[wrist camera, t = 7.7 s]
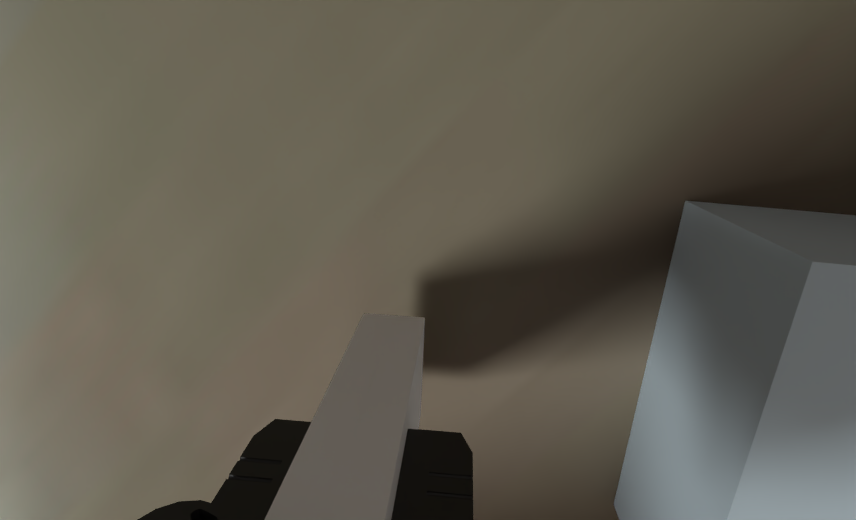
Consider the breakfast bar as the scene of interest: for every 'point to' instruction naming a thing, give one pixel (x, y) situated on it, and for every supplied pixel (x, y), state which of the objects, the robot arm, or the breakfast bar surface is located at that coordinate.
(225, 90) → the breakfast bar surface
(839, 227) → the block
